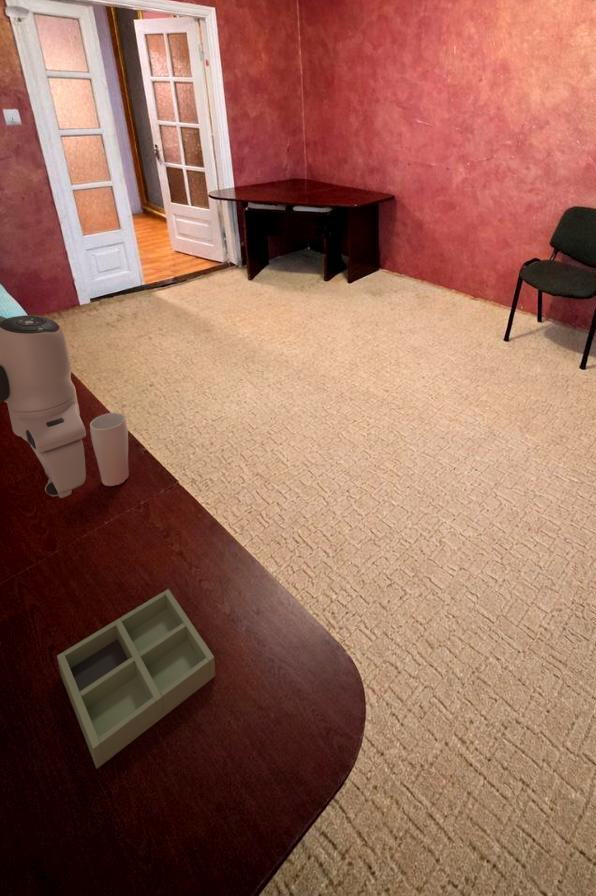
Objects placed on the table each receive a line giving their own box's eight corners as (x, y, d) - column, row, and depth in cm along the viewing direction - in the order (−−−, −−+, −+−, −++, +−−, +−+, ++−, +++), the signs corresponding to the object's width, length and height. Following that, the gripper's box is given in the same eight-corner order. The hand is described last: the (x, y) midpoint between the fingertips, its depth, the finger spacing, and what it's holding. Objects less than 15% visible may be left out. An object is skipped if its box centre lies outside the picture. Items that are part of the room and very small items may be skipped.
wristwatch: (47, 504, 80) (42, 478, 78) (52, 484, 84) (47, 460, 82) (68, 499, 81) (63, 474, 79) (72, 480, 85) (68, 456, 83)
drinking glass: (95, 476, 107) (86, 418, 103) (129, 465, 111) (122, 409, 107) (101, 494, 102) (92, 433, 98) (136, 481, 107) (129, 423, 102)
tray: (96, 769, 59) (92, 748, 58) (60, 674, 69) (56, 655, 67) (215, 676, 70) (214, 657, 69) (170, 605, 80) (168, 588, 78)
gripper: (6, 395, 82) (20, 463, 86) (39, 449, 69) (54, 526, 73) (50, 383, 86) (62, 449, 90) (88, 432, 73) (100, 506, 78)
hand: (58, 484), depth 82 cm, fingers closed on wristwatch, 5 cm apart
